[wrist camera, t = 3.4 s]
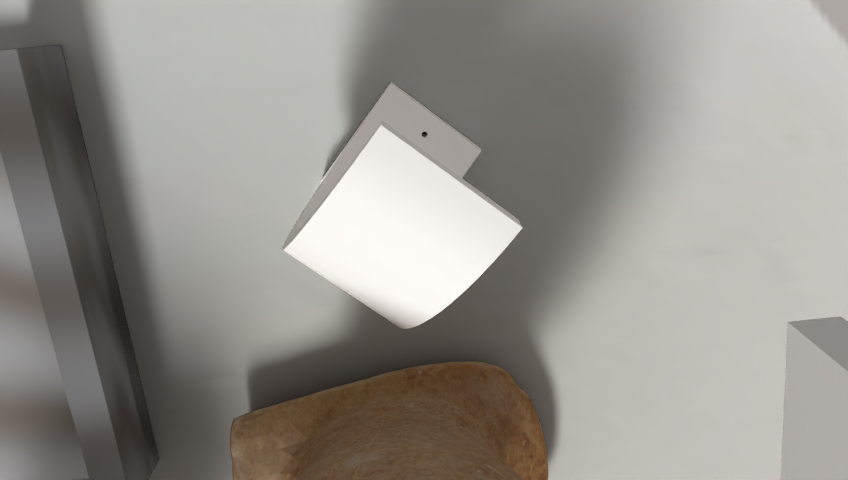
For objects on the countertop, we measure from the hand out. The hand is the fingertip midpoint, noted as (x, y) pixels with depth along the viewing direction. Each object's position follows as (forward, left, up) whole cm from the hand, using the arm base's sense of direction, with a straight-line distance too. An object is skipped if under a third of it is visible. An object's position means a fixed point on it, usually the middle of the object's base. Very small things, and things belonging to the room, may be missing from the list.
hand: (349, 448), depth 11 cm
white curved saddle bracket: (0, 0, -21) cm, 21 cm away
